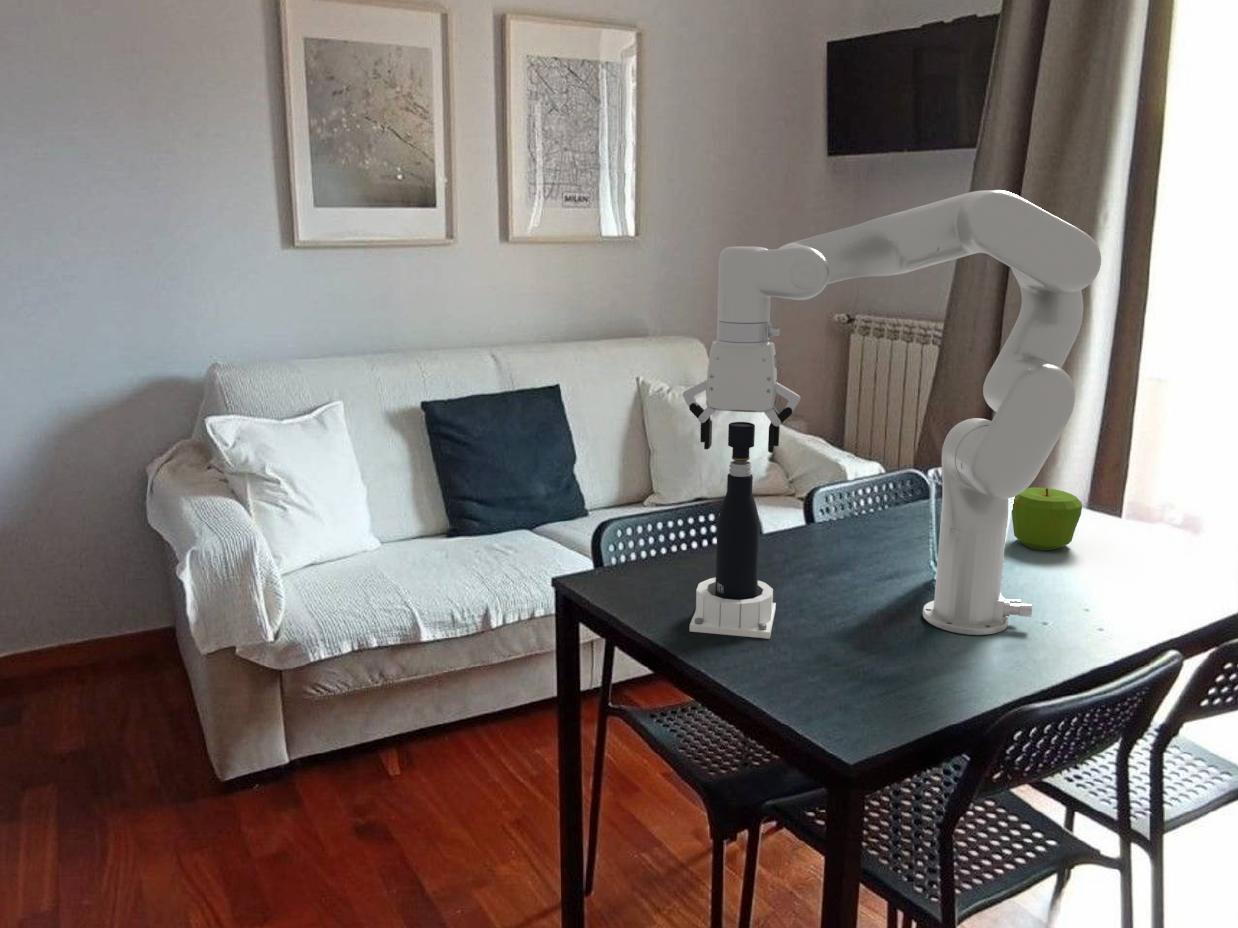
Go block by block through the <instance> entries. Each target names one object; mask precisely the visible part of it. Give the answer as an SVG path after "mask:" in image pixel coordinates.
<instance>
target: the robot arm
mask: <svg viewBox="0 0 1238 928" xmlns="http://www.w3.org/2000/svg"><path fill="white" fill-rule="evenodd" d="M980 253H981V254H987V255H989V256H990V257H992V258H994V259H996V260H998V261H999V262H1001V263H1003V265H1005V266H1008V267H1009V268H1011V271H1012V274H1013V276H1014V277H1015V280H1016V281H1017V284H1018V286H1019V289H1020V294H1021V305H1020V311H1019V314H1018V317H1017V319H1016V321H1015V323H1014V326H1013V328H1012V330H1011V332H1010V334H1009V336H1008V338H1007V339H1006V341H1005V343H1004V345H1003V347H1002V348H1001V350H1000V351H999V354H998V356H997V357H996V359H995V361H994V363H993V365H992V366H991V368H990V370H989V371H988V373H987V375H986V377H985V380H984V383H983V387H982V395H983V398H984V400H985V402H986V404H987V405H988V407H989V408H991V410H993V411H994V412H995V414H994V416H993V418H992V420H989V419H985V418H979V417H972V418H968V419H965V420H962V421H960V422H958V423H957V424H955V425H954V426H953V427H952V428H951V429H950V431H948V434H947V435H946V437H945V439H944V442H943V444H942V450H941V473H942V475H941V476H942V477H941V478H942V500H941V515H940V516H941V517H940V526H939V527H940V528H939V537H938V538H939V540H938V549H937V564H936V573H935V575H936V576H935V588H934V598H933V599H934V600H931V601H928V602H927V603H925V604H924V605H923V608H922V617H923V619H925V621H926V622H928V623H929V625H932V626H934V627H935V628H937V629H938V628H939V629H941V630H944V631H948V632H951V633H956V634H962V635H972V636H986V635H993V634H997V633H1001V632H1003V631H1004V630H1005V629H1007V627H1008V626H1009V617H1010V616H1018V617H1025V618H1032V613H1033V606H1032V604H1029V603H1028V604H1027V603H1021V602H1022V601H1021V599H1014V598H1011V599H1009V598H1005V596H1003V594H1002V592H1001V589H1002V588H1001V587H1002V577H1003V569H1004V568H1003V567H1004V558H1005V547H1006V537H1007V528H1008V521H1009V499H1012V497H1014V496H1017V495H1018V494H1020V493H1022V492H1023V491H1024V490H1025V489H1026V488H1029V487H1030V485H1031V484H1032V483H1033V482H1034V481H1035V479H1036V478H1037V476H1038V474H1039V472H1040V471H1041V469H1042V467H1044V465H1045V463H1046V462H1047V461H1046V460H1048V457H1049V456H1050V455H1051V452H1052V451H1053V449H1054V448H1055V445H1056V444H1057V442H1058V440H1059V438H1060V437H1061V435H1062V433H1063V432H1064V430H1065V428H1066V426H1067V424H1068V422H1069V420H1070V419H1071V417H1072V414H1073V411H1074V406H1075V401H1076V391H1075V385H1074V383H1073V380H1072V379H1071V377H1070V375H1069V374H1068V373H1067V372H1066V371H1065V370H1064V369H1063V366H1064V364H1065V362H1066V359H1067V358H1068V356H1069V354H1070V352H1071V350H1072V348H1073V346H1074V344H1075V341H1076V339H1077V338H1078V335H1079V333H1080V329H1081V327H1082V324H1083V323H1082V322H1083V318H1084V298H1083V292H1082V290H1084V289H1085V288H1087V287H1088V286H1089V285H1091V284H1092V283H1093V282H1094V280H1095V279H1096V277H1098V274H1099V272H1100V269H1101V266H1102V255H1101V250H1100V248H1099V245H1098V244H1097V243H1096V241H1095V240H1094V239H1093V238H1092V237H1091V236H1090V235H1089V234H1088V233H1086V232H1085V231H1083V230H1081V229H1079V228H1078V227H1076V226H1075V225H1072V224H1071V223H1069V222H1067V221H1065V220H1063V219H1061V218H1059V217H1058V216H1056V215H1054V214H1052V213H1050V212H1048V211H1046V210H1044V209H1042V208H1041V207H1039V206H1038V205H1035V204H1034V203H1032V202H1030V201H1029V200H1027V199H1025V198H1023V197H1021V196H1019V195H1018V194H1015V193H1012V192H1010V191H1007V190H1001V189H992V190H990V189H988V190H976V191H970V192H966V193H964V194H963V193H962V194H959V195H956V196H955V195H954V196H952V197H949V198H945V199H941V200H938V201H933V202H931V203H928V204H924V205H920V206H917V207H913V208H909V209H906V210H903V211H900V212H899V211H898V212H895V213H891V214H888V215H884V216H880V217H876V218H874V219H871V220H867V221H865V222H862V223H861V222H860V223H858V224H854V225H852V226H848V227H844V228H839V229H836V230H833V231H829V232H826V233H822V234H817V235H814V236H811V237H808V238H804V239H799V240H796V241H793V242H789V243H786V244H784V245H782V246H780V247H778V248H777V249H776V248H775V249H768V248H766V247H764V246H763V247H762V246H753V245H752V246H745V245H741V246H740V245H739V246H737V245H736V246H727V247H724V249H722V250H721V251H720V254H719V257H718V283H717V285H718V288H717V317H716V318H717V322H716V323H717V325H716V326H717V329H716V340H714V341H713V340H712V343H711V348H710V352H709V358H708V366H707V372H706V373H707V374H706V376H707V377H706V380H704V381H701V382H700V383H698V384H695V385H694V386H692V387H689V388H687V389H685V390H684V391H683V392H682V397H683V399H684V401H685V403H686V405H687V406H688V410H689V411H690V412H691V413H692V414H693V415H694V416H695V418H697V419H698V422H699V423H700V443H703V446H704V447H703V449H704V450H709V449H710V448H711V446H712V442H713V420H712V419H711V416H712V415H713V414H714V413H715V412H716V411H721V412H722V411H723V412H737V413H738V412H741V413H764V414H765V416H766V417H767V418H768V420H769V421H770V423H769V426H768V438H767V452H768V453H770V454H773V453H774V451H775V447H779V445H780V428H781V427H780V425H782V423H784V421H786V420H787V419H788V418H789V417H791V415H792V414H793V413H794V410H795V409H796V407H797V406H798V404H799V403H800V402H801V396H800V395H799V394H797V393H796V392H795V391H793V390H791V389H789V388H788V387H787V386H784V385H783V384H781V383H779V382H778V370H777V369H778V368H777V366H778V363H777V355H776V354H777V353H776V348H775V347H776V346H775V343H774V342H772V341H770V339H771V338H772V337H774V336H777V337H778V336H780V330H781V329H780V326H775V325H772V323H771V321H770V319H771V297H773V298H781V299H789V300H795V301H796V300H797V301H805V300H806V301H807V300H810V299H812V298H814V297H816V296H818V295H819V294H821V293H822V292H823V291H824V290H825V288H826V287H827V285H829V284H830V285H831V284H834V283H838V282H842V281H846V280H850V279H851V280H852V279H856V278H863V277H864V278H865V277H888V276H889V277H890V276H896V275H897V276H898V275H902V274H907V273H910V272H913V271H917V270H921V269H925V268H927V267H931V266H935V265H938V264H941V263H945V262H948V261H954V260H957V259H961V258H964V257H968V256H971V255H975V254H980ZM703 392H705V404H706V408H705V409H704V408H703V407H702V406H701V405H700V404H699V403H698V401H697V400H696V396H697V395H699V394H701V393H703ZM777 394H778V395H779V396H781V397H782V398H784V399H785V400H787V401H788V402H787V404H786V406H785V407H784V408H783V409H782V410H781V411H780V412H779V411H778V410H777V409H776V407H775V405H776V402H777V396H778V395H777Z"/></svg>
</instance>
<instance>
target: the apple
mask: <svg viewBox="0 0 1238 928" xmlns="http://www.w3.org/2000/svg"><path fill="white" fill-rule="evenodd" d="M1082 510H1083V503H1082V501H1081V500H1080V499H1079V498H1078V497H1077V496H1075V494H1072V493H1070V492H1067V491H1065V490H1060V489H1056V488H1055V489H1054V488H1051V487H1050V488H1047V487H1031V486H1030V487H1027V488H1026V489H1025V490H1024V491H1023V492H1022V493H1020V494H1018V495H1017V496H1015V499H1014V504H1013V510H1012V511H1011V518H1012V519H1011V521H1012V527H1013V529H1012V530H1013V535H1014V537H1015V538H1016V539H1017V540H1018V541H1019V542H1020V543H1022V544H1023V545H1024V546H1025V547H1027V548H1029V549H1031V550H1038V551H1052V550H1057V549H1060V548H1062V547H1065V546H1067V545H1069V544H1070V543H1072V540H1073V539H1074V535H1075V531H1076V527H1077V526H1078V523H1079V522H1080V521H1079V520H1080V518H1081V516H1082Z"/></svg>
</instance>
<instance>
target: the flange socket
mask: <svg viewBox="0 0 1238 928" xmlns="http://www.w3.org/2000/svg"><path fill="white" fill-rule="evenodd" d="M715 587H716V577H711V578H708V579H706V580H704V581H701V582H699V583H698V585H697V588H696V590H695V591H696V593H695V596H696V598H695V611H694V614H693V616H692V618H691V621H690V623H689V632H693V633H702V634H703V633H704V634H712V635H713V634H715V635H725V636H726V635H727V636H737V637H747V638H748V637H750V638H758V639H759V638H761V639H767V640H770V639H771V635H772V634H771V633H772V628H773V624H774V618H775V613H776V608H777V607H776V606H777V603H776V602H774V601H773V600H774V588H772V587H771V586H770V585H769V584H767V583H766V582H765V581H761V580H758V587H757V597H755V598H753V599H744V600H732V599H723V598H720V597H717V596H715Z"/></svg>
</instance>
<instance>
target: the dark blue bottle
mask: <svg viewBox="0 0 1238 928" xmlns="http://www.w3.org/2000/svg"><path fill="white" fill-rule="evenodd" d="M755 430H756V425H755V423H752V422H749V421H748V422H747V421H733V422H729V423H728V432H727V433H728V434H727V435H728V437H727V445H728V447H730V448H732V451H731V452H732V454H731V455H732V456H731V459H732V461H730V464H729V465H728V467H729V473H728V474H727V478H726V481H727V482H726V494H725V497H724V498H723V502H722V504H721V507H720V510H719V514H718V519H717V523H716V525H717V526H716V550H715V551H716V556H715V557H716V558H715V559H716V560H715V562H716V563H715V578H716V587H715V596H717V597H720V598H723V599H732V600H744V599H753V598H755V597H757V587H758V581H759V556H760V555H759V554H760V553H759V552H760V531H761V524H760V516H759V512H758V507H757V504H756V501H755V498H754V494H753V479H754V477H753V474H751V473H752V465H751V463H752V462H751V461H749V460H750V458H751V457H750V449H751V448H753V447H754V446H755V434H756V433H755V432H756V431H755Z"/></svg>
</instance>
